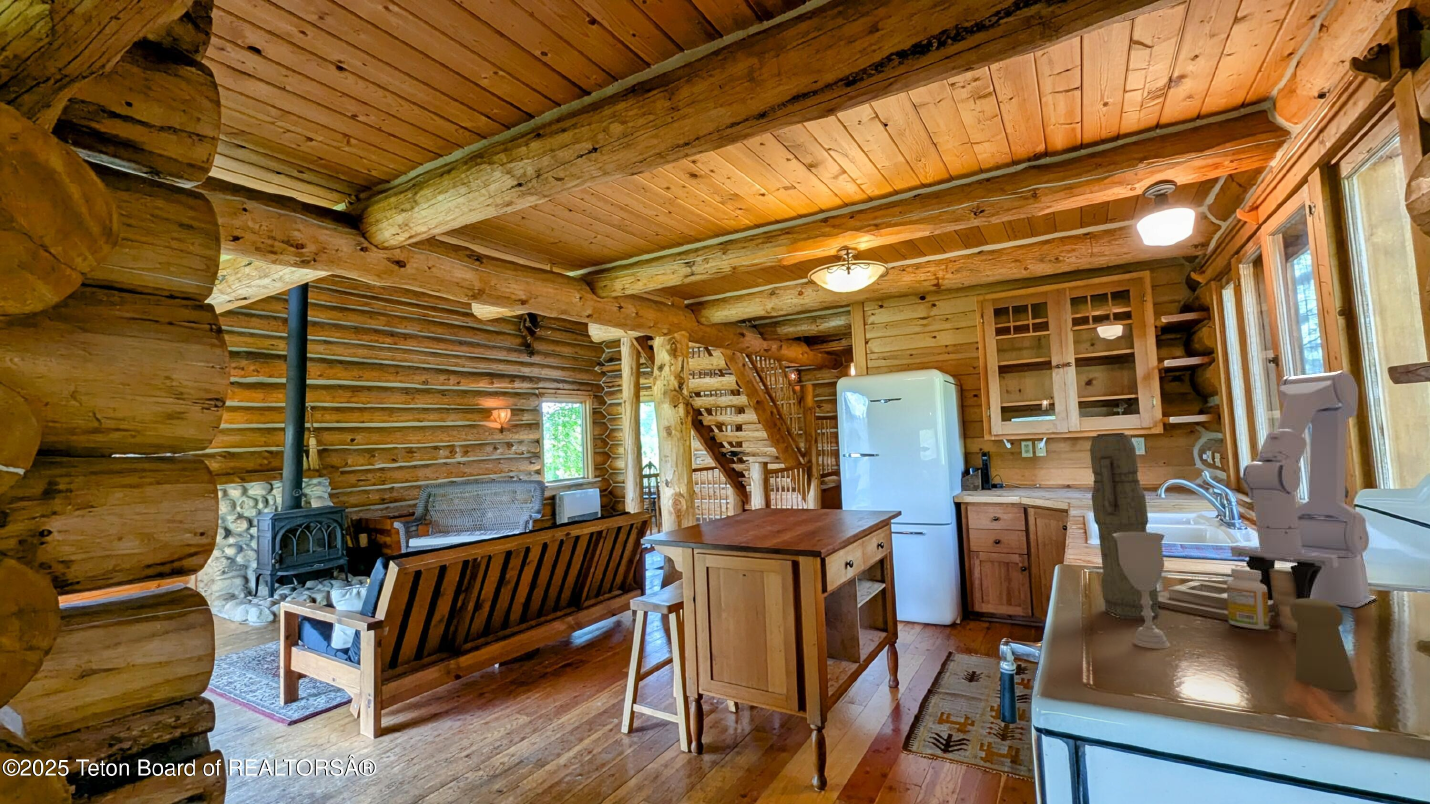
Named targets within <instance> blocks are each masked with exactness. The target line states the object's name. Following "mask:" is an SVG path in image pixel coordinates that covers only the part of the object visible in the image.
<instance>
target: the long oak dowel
mask: <svg viewBox="0 0 1430 804" xmlns="http://www.w3.org/2000/svg"><path fill="white" fill-rule="evenodd" d="M1269 575H1270V583H1271V590H1272V597H1273V605H1274V610H1273V611H1274V615H1275V616H1277V617H1280V615H1279V607H1278V604H1279V603H1292V602H1293V601H1294V600H1297V599H1298V596H1297V587H1296V582H1295V579H1294V576H1293V573H1292V570H1291V568H1274V569H1269Z"/></svg>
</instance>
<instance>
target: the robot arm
mask: <svg viewBox="0 0 1430 804" xmlns="http://www.w3.org/2000/svg"><path fill="white" fill-rule="evenodd" d="M1357 384H1358V383H1357V382H1356V379H1355V378H1354V376H1353V375H1352V374H1351V373H1349V372H1348V371H1346V370H1338V371H1335V372H1326V373H1324V372H1323V373H1316V374H1314V373H1313V374H1304V375H1296V376H1291V375H1290V376H1284V377H1283V378H1282V380H1281V381H1280V383H1279V384H1278V394H1279V397H1280V400H1281V402H1282V404H1283V408H1282V411H1281V414H1280V418H1279V421H1278V426H1277V429H1275V430H1270V432H1268V433H1267V434H1266V437H1265V438H1264V440H1263V442H1262V443H1263V444H1262V445H1261V447H1260V450H1259V452H1258V454H1257V457H1256V459H1255V461H1254V460H1253V461H1251V462H1250V463H1249V464H1248V463H1247V464H1246V465H1245V466H1244V468H1243V472H1242V477H1241V479H1242V484H1243V486H1244V487H1245V489H1246V490H1247V493H1248V499H1249V500H1250V501H1251V502H1253V510H1254V516H1255V524H1256V532H1257V538H1258V539H1257V540H1258V546H1253V545H1252V546H1251V545H1250V546H1249V545H1239V544H1238V545H1237V544H1236V545H1231V546H1230V553H1231V557H1232V558H1240V557H1241V558H1248V561H1246V562H1245V563H1246V566H1247V568H1249V570H1256V571H1261V577H1262V578H1261V580H1260V583H1261V584H1263V585H1265V586H1266V587H1267V593H1268V600H1273V597H1272V590H1271V583H1270V575H1269V569H1274V568H1275V567H1276V566H1275V565H1276V562H1283V563H1293V565H1291V566H1290V569H1291V570H1292V573H1293V576H1294V579H1295V582H1296V587H1297V596H1298V599H1306V598H1310V599H1320V600H1325V601H1329V602H1332V603H1334V604H1336V605H1337V606H1341V607H1350V608H1354V609H1355V608H1359V607H1361V606H1364V605H1366V604H1368V602H1369V601H1371V600H1372V599H1374V598H1376V597H1377V596H1376V595H1371V593H1370V588H1369V583H1368V582H1369V581H1368V580H1369V579H1368V575H1367V567H1366V565H1365V562H1364V561H1363V559H1361V557H1359V556H1362V555H1363V554H1364V553H1365V552H1366V551H1367V550H1368V548H1369V544H1370V536H1369V532H1368V530H1367V523H1366V517H1365V516H1364V515H1363V514H1362V513H1360V512H1359V511H1357V510H1356V509H1354V508H1352V507H1351V506H1350V505H1347V504H1346V476H1347V475H1346V472H1347V471H1346V469H1347V468H1346V465H1347V433H1348V432H1347V431H1348V430H1347V429H1348V420H1349V419H1351V418H1353V417H1354V416H1356V415H1358V408H1359V407H1358V406H1359V405H1358V403H1359V402H1358V401H1359V387H1358V385H1357ZM1310 424H1311V426H1310V427H1311V431H1310V432H1311V433H1310V461H1309V462H1310V463H1309V480H1308V481H1309V485H1308V500H1307V501H1305V502H1304V503H1302V504H1300V505H1298V506H1297V504H1296V502H1297V501H1296V497H1295V493H1296V492H1298V490H1299V488H1300V486H1301V472H1302V468H1301V466H1300V465H1299V464H1300V463H1301V462H1300V461H1301V459H1302V457H1303V455H1304V452H1305V450H1306V447H1307V446H1308V443H1307V440H1306V439H1305V437H1304V436H1303V435H1304V433H1305V431H1306V429H1307V428H1308V426H1309V425H1310ZM1375 596H1376V597H1375ZM1371 602H1372V601H1371ZM1365 603H1366V604H1365ZM1369 603H1370V602H1369Z"/></svg>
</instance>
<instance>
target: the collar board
mask: <svg viewBox="0 0 1430 804" xmlns="http://www.w3.org/2000/svg"><path fill="white" fill-rule="evenodd" d="M1158 600H1159V602H1158V606H1161V607H1160V608H1162V607H1165V608H1164V609H1167V608H1169V609H1168V610H1174V611H1178V612H1183V613H1188V614H1194V615H1198V616H1205V617H1209V618H1214V619H1220V620H1223V621H1229V620H1228V600H1227V584H1220V583H1215V582H1207V581H1202V580H1192V581H1190V582H1186V583H1182V584H1180V585H1179V584H1178V585H1175V586H1173V587H1169V588H1167V590H1164V591H1161V592H1158ZM1268 611H1269V612H1271V611H1274V605H1273V600H1268Z"/></svg>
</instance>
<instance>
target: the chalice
mask: <svg viewBox="0 0 1430 804" xmlns="http://www.w3.org/2000/svg"><path fill="white" fill-rule="evenodd" d="M1113 536H1114V538H1115V539H1116V541H1117V545H1118V553H1119V561H1120V565H1121V567H1122V569H1123V571H1124V573H1125V575H1126V576H1127V578H1128V579H1129V581H1130V582H1131V584H1132V585H1133V587H1134V588H1136V589H1138V590H1141V593H1142V600H1141V602H1140V603H1141V604H1142V605H1143V607H1144V609H1143V612H1142V613H1141V614H1142V615H1143V616H1144V618H1145V620H1144V624H1143V625H1142V626H1141V627H1139V628H1138V629H1137V630H1136V633H1135V634H1134V638H1133V640H1132V643H1133V644H1134V645H1136V646H1140V647H1143V648H1146V649H1147V648H1148V649H1159V650H1160V649H1167V648H1169V647H1171V644H1170V643H1169V641H1167V638H1166V636H1165V635H1164V633H1163V631H1162V630H1160V629H1159V628H1156V626H1155V625H1154V623H1153V619H1152V616H1153V615H1154V614H1153V613H1152V611H1151V609H1150V607H1151V604H1152V602H1151V601H1150V598H1149V591H1151V590H1154V589H1155V588H1156V586H1157V587H1158V584H1159V581H1161V578H1162V575H1163V572H1164V568H1165V560H1164V553H1163V544H1162V542H1163V540H1164V538H1165V534H1163V533H1158V532H1150V531H1148V532H1120V533H1115V534H1113Z"/></svg>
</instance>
